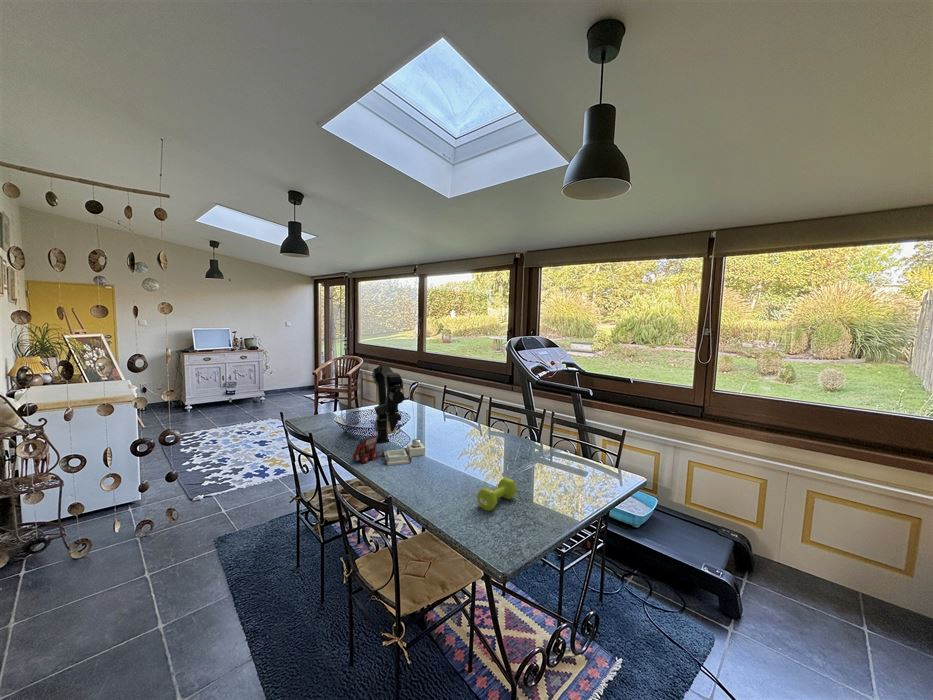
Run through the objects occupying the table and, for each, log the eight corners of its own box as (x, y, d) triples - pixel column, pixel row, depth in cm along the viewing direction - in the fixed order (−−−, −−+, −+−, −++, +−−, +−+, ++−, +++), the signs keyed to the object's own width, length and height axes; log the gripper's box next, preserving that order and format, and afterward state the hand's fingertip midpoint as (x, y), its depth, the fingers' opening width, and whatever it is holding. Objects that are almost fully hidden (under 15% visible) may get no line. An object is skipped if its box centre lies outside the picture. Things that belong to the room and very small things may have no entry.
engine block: (386, 431, 178) (387, 418, 178) (394, 431, 180) (395, 417, 179) (387, 433, 174) (388, 420, 174) (395, 433, 176) (396, 420, 175)
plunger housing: (406, 451, 178) (407, 444, 178) (421, 449, 181) (421, 443, 181) (409, 456, 172) (410, 449, 171) (424, 455, 174) (425, 448, 174)
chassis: (381, 454, 172) (381, 448, 172) (405, 452, 177) (406, 446, 176) (385, 465, 159) (385, 459, 159) (411, 463, 163) (411, 456, 163)
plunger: (411, 446, 177) (411, 439, 177) (418, 445, 178) (419, 438, 178) (412, 448, 174) (413, 441, 173) (420, 448, 175) (420, 441, 175)
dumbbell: (491, 515, 123) (492, 495, 122) (474, 506, 128) (475, 487, 127) (518, 499, 135) (519, 481, 134) (501, 492, 140) (502, 474, 140)
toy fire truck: (349, 462, 162) (349, 439, 161) (370, 454, 172) (370, 433, 171) (359, 466, 158) (360, 443, 157) (380, 457, 168) (381, 436, 167)
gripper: (373, 395, 182) (372, 425, 183) (377, 404, 164) (376, 436, 165) (395, 395, 186) (394, 424, 187) (401, 403, 168) (400, 435, 169)
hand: (391, 430), depth 177 cm, fingers closed on engine block, 4 cm apart
